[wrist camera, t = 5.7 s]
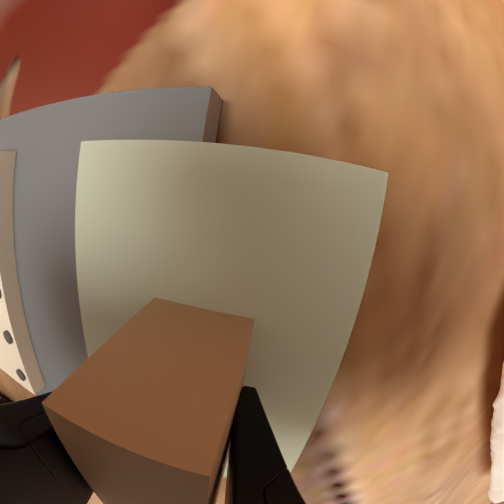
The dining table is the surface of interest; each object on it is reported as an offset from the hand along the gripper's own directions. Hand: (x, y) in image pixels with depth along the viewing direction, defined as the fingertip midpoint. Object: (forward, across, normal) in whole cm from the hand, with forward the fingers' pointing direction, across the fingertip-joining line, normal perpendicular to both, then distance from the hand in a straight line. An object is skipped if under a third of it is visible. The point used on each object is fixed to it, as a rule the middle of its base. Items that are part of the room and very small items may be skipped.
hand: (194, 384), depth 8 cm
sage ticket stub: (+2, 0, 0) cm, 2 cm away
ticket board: (+3, +11, 0) cm, 11 cm away
